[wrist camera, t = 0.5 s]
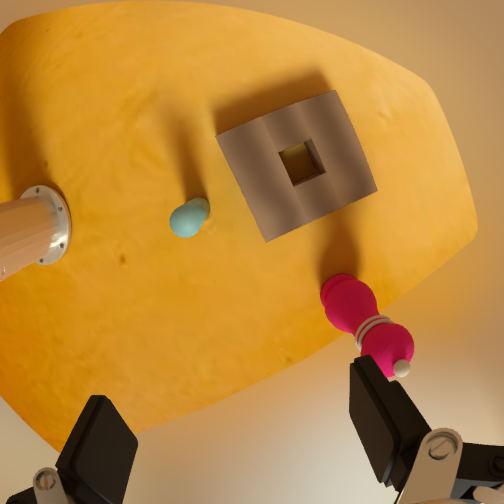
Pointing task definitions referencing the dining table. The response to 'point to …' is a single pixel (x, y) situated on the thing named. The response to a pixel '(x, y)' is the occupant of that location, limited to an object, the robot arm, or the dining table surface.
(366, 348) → the pepper mill
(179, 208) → the teal peg
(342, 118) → the walnut hole block
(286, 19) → the dining table surface
